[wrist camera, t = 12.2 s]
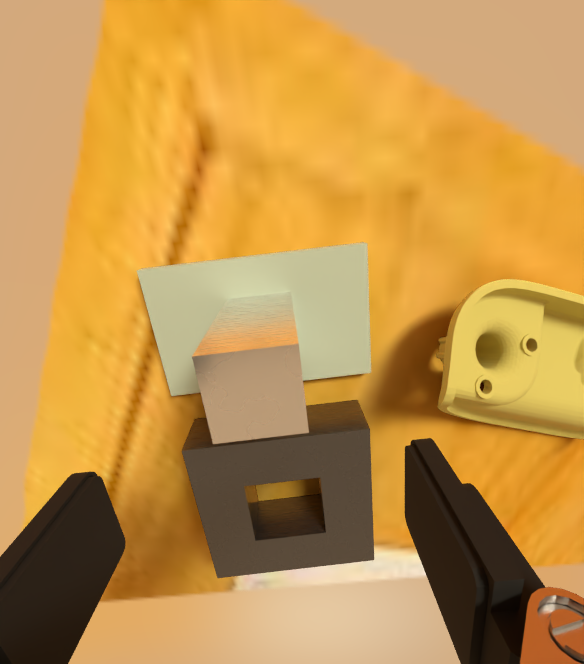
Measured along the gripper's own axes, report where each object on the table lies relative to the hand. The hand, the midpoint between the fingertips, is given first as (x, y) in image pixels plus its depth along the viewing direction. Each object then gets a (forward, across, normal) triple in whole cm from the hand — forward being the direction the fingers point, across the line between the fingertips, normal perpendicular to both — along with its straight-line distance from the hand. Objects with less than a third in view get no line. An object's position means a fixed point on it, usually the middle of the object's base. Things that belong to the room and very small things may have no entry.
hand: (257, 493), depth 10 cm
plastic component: (+17, -20, +5) cm, 27 cm away
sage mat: (+16, +1, -1) cm, 16 cm away
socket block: (+16, +1, +14) cm, 22 cm away
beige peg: (+15, +1, -1) cm, 15 cm away
